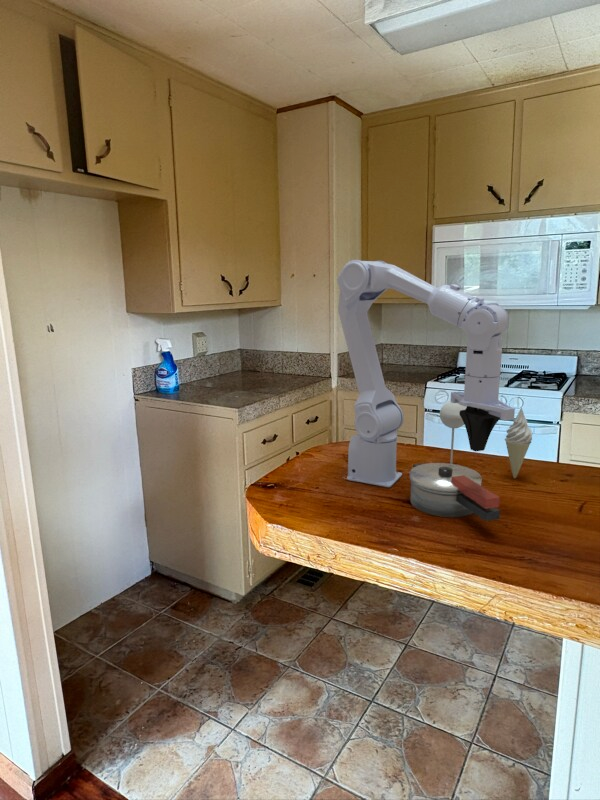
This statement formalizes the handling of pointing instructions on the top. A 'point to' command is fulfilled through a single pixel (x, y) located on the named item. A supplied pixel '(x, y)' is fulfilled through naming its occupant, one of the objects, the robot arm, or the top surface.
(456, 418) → the lollipop
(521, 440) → the ice cream cone
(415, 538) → the top surface
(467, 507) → the pot
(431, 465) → the lid
